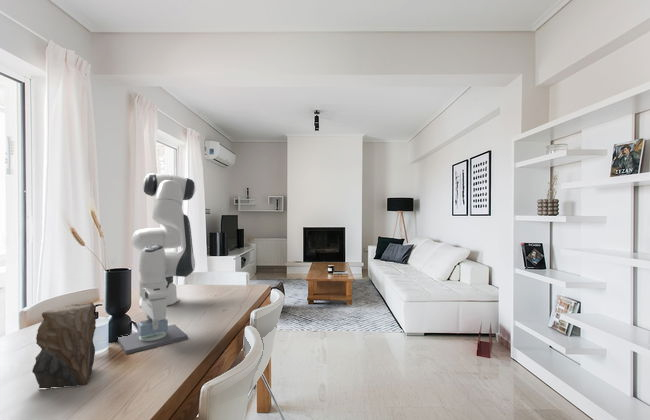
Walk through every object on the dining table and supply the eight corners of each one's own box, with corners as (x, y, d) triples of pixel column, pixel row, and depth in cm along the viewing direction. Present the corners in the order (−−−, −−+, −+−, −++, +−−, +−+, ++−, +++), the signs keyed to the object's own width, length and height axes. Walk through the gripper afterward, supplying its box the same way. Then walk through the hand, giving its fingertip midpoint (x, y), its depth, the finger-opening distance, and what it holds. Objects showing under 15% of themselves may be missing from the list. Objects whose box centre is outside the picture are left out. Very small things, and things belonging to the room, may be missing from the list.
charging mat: (117, 339, 121) (117, 336, 121) (174, 327, 134) (174, 323, 134) (125, 354, 109) (125, 350, 109) (187, 338, 122) (187, 335, 122)
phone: (137, 332, 120) (137, 321, 120) (164, 327, 126) (164, 316, 126) (140, 336, 117) (140, 325, 117) (167, 330, 122) (167, 319, 122)
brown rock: (30, 392, 86) (30, 316, 86) (56, 369, 98) (56, 302, 98) (85, 385, 89) (85, 312, 89) (104, 364, 101) (104, 300, 101)
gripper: (136, 286, 127) (136, 321, 127) (150, 296, 112) (150, 337, 112) (154, 283, 131) (154, 318, 131) (169, 293, 116) (169, 332, 116)
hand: (152, 327), depth 121 cm, fingers open, 5 cm apart
